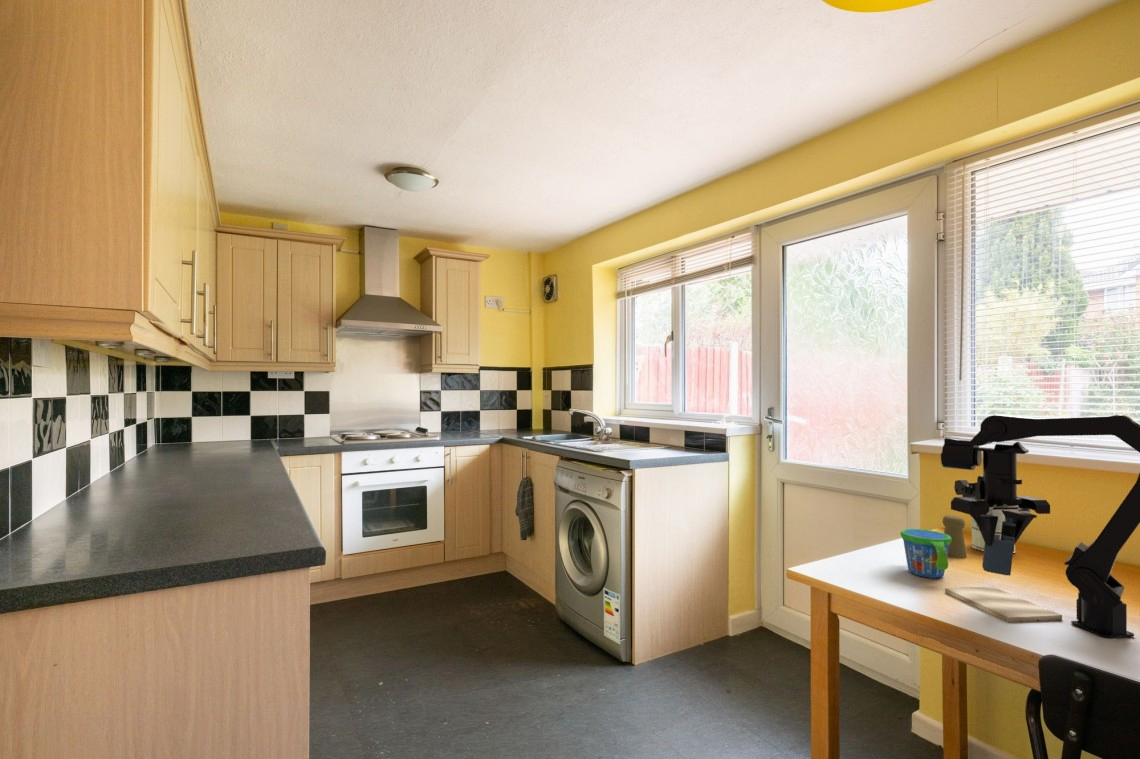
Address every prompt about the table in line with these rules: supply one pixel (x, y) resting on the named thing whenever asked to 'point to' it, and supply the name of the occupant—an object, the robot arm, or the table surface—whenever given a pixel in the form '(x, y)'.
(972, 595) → the birch board
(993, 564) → the vaping device
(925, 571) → the blue plastic tapered tub
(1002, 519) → the coffee can
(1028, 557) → the table surface
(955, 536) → the cork
